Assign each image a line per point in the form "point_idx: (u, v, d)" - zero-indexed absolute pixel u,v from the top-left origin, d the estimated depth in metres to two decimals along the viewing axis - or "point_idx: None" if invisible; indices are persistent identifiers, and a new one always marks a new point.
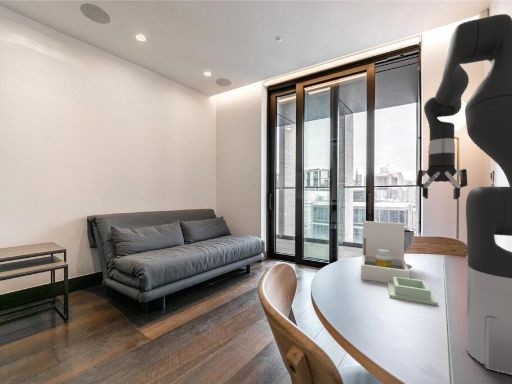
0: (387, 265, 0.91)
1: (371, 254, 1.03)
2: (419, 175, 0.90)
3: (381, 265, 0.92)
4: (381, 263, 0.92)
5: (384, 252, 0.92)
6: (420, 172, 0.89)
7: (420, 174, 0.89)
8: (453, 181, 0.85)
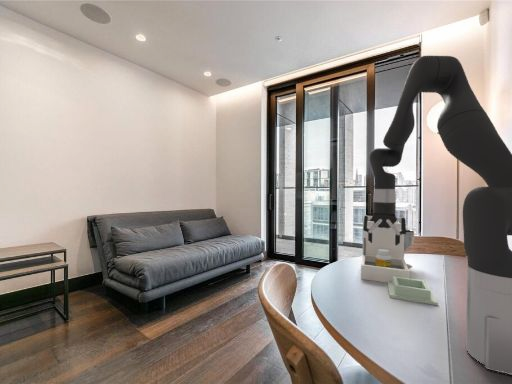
0: (387, 265, 0.91)
1: (371, 254, 1.03)
2: (364, 221, 0.96)
3: (381, 265, 0.92)
4: (381, 263, 0.92)
5: (384, 252, 0.92)
6: (365, 218, 0.95)
7: (365, 220, 0.95)
8: (393, 228, 0.91)
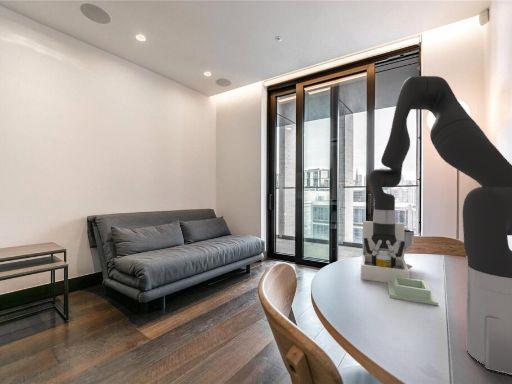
0: (387, 265, 0.91)
1: None
2: (365, 243, 0.96)
3: (381, 265, 0.92)
4: (381, 263, 0.92)
5: (384, 252, 0.92)
6: (365, 240, 0.95)
7: (366, 242, 0.95)
8: (391, 250, 0.91)
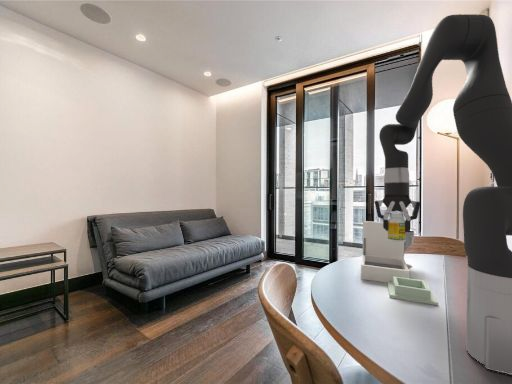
0: (401, 228, 0.83)
1: (371, 254, 1.03)
2: (376, 206, 0.87)
3: (394, 229, 0.83)
4: (394, 227, 0.83)
5: (397, 214, 0.83)
6: (376, 203, 0.87)
7: (377, 205, 0.87)
8: (405, 212, 0.83)
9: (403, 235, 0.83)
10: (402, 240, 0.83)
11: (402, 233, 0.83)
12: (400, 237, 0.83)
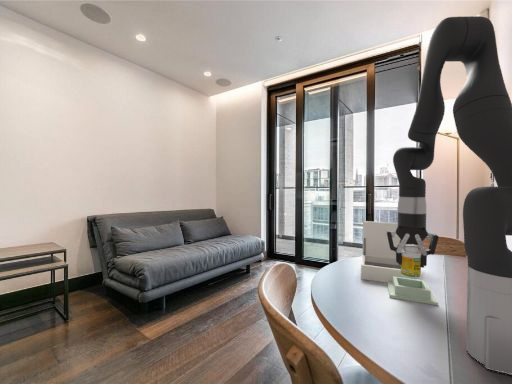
0: (416, 264, 0.75)
1: (371, 254, 1.03)
2: (389, 238, 0.79)
3: (409, 264, 0.75)
4: (409, 262, 0.75)
5: (412, 248, 0.75)
6: (389, 234, 0.79)
7: (389, 237, 0.79)
8: (421, 247, 0.75)
9: (418, 271, 0.75)
10: (417, 277, 0.75)
11: (417, 269, 0.75)
12: (415, 274, 0.75)
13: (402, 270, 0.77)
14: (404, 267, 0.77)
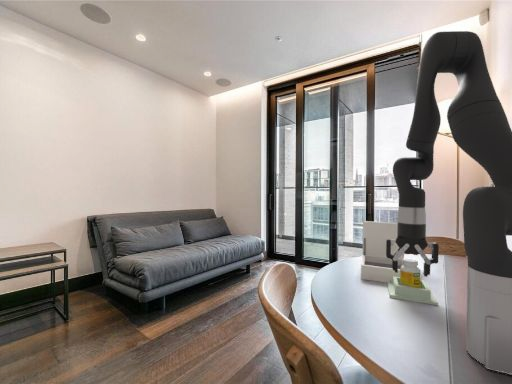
0: (416, 279, 0.75)
1: (371, 254, 1.03)
2: (387, 245, 0.79)
3: (408, 279, 0.76)
4: (408, 277, 0.75)
5: (412, 263, 0.76)
6: (388, 242, 0.79)
7: (388, 244, 0.79)
8: (423, 256, 0.75)
9: (418, 286, 0.75)
10: None
11: (417, 284, 0.75)
12: None
13: (402, 285, 0.77)
14: (404, 282, 0.77)
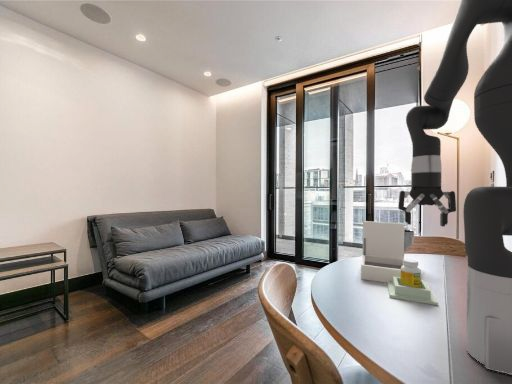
0: (416, 279, 0.75)
1: (371, 254, 1.03)
2: (401, 197, 0.77)
3: (408, 279, 0.75)
4: (409, 277, 0.75)
5: (412, 263, 0.76)
6: (402, 193, 0.77)
7: (402, 196, 0.77)
8: (439, 205, 0.72)
9: (418, 286, 0.75)
10: None
11: (417, 284, 0.75)
12: None
13: (402, 285, 0.77)
14: (404, 282, 0.77)
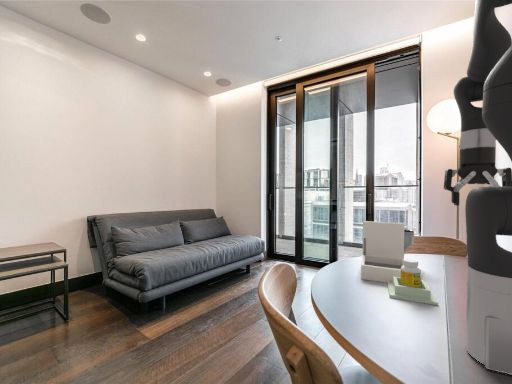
0: (416, 279, 0.75)
1: (371, 254, 1.03)
2: (448, 176, 0.71)
3: (408, 279, 0.75)
4: (409, 277, 0.75)
5: (412, 263, 0.75)
6: (449, 172, 0.70)
7: (449, 174, 0.70)
8: (493, 183, 0.66)
9: (418, 286, 0.75)
10: None
11: (417, 284, 0.75)
12: None
13: (402, 285, 0.77)
14: (404, 282, 0.77)
